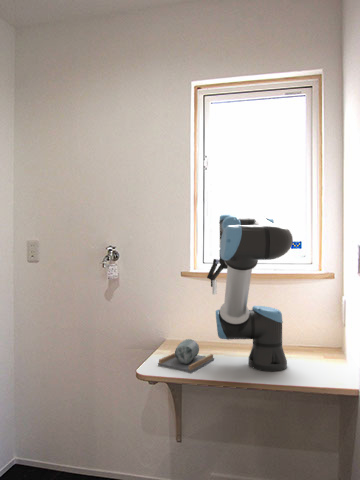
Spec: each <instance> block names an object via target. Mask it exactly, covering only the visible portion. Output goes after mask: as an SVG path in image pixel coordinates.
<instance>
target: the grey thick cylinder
mask: <svg viewBox="0 0 360 480" xmlns="http://www.w3.org/2000/svg"><path fill="white" fill-rule="evenodd" d="M174 350H175V351H174V353H175V356H176V358H177V360H178V361H180V362H181V363H183V364H188V363H190V362H191V361H192V359H193V358H194V357H196V356H197V355H199V352H200V347H199V344H198V342H197V341H196V340H194V339H192V338H187V339H184V340H183V341H181V342H180V343H179V344H178V345H177V346H176V348H175V349H174Z"/></svg>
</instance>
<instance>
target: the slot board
mask: <svg viewBox="0 0 360 480" xmlns="http://www.w3.org/2000/svg"><path fill="white" fill-rule="evenodd" d="M214 361H215V358H214V354H213V353H210V354H208V355H206V356H204V355H199V354H197V356H196V357H194V358H193V359H192V361H191V362H190V363H188V364H183V363H181V362H180V361H178V360H177V358H176V356H175V352H173V353H171V354H169V355H166V356H164V357H162V358H160V359H158V363H157V366H158V367H163V368H167V369H172V370H177V371H182V372H186V373H190V374H193V373H195V372H196V371H198V370H200V369H202V368H203V367H206V366H207V365H209V364H211V363H213V362H214Z"/></svg>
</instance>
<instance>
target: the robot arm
mask: <svg viewBox="0 0 360 480" xmlns="http://www.w3.org/2000/svg"><path fill="white" fill-rule="evenodd" d="M273 218H274V217H271V216H236V215H233V214H222V215H220V216H219V222H218V223H219V258H213V261H212V262H213V263H212V265H211V268H210V269H209V272H208V274H207V276H206V278H207V279H208V280H210V287H211V288H212V295H217V294H218V293H217V291H218V290H217V280H216V279H217V277H218V276H219V274H221V273H222V271H223V270H226V279H225V280H226V281H225V289H224V291H225V293H224V303H223V304H221V306H220V307H219V309H217V310H215V320H216V331H217V337H218V338H219V339H221V340H227V341H229V340H252V347H251V349H250V353H249V356H248V360H247V361H248V366H249V367H251V368H252V369H255V370H259V371H263V372H264V371H265V372H279V371H283V370H285V369H287V367H288V359H287V357H286V355H285V351H284V348H283V323H284V322H283V314H282V312H281V311H280V310H279V309H277V308H275V307H274V308H273V307H270V306H265V305H253V306H252V308H251V309H249V308H248V306H247V305H248V301H249V291H250V286H251V277H252V271H253V269H255V268H256V266H257V265H258V261H267V260H276V259H278V258H280V257H283V256H284V255H286V254H287V253H288V252H289V251H290V249H291V248H292V245H293V233H292V232H291V231H290V229H288V228H287V227H286V226H283V225H282V224H281V225H280V224H275V222H274V219H273ZM218 264H219V266H218Z"/></svg>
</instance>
